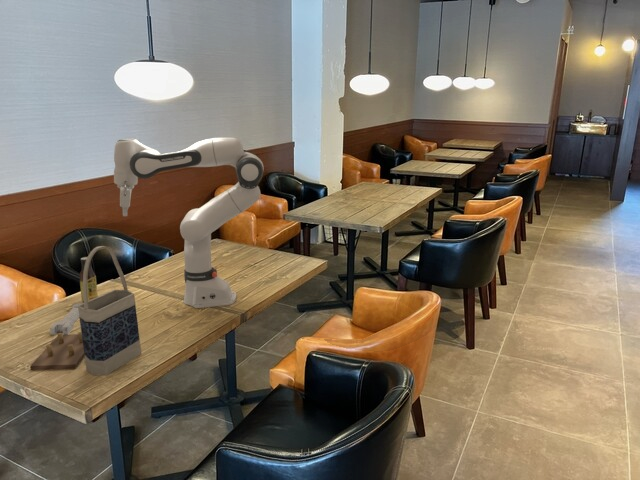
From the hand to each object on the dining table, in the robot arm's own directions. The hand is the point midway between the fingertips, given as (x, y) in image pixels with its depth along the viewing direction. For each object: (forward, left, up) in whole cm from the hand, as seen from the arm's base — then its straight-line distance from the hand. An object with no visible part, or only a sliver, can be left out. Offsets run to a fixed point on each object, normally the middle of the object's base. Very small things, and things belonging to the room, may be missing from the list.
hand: (125, 212), depth 204 cm
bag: (-7, +50, -40) cm, 64 cm away
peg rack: (+11, +43, -39) cm, 59 cm away
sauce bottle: (+18, -1, -40) cm, 44 cm away
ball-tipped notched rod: (+19, +16, -39) cm, 47 cm away
